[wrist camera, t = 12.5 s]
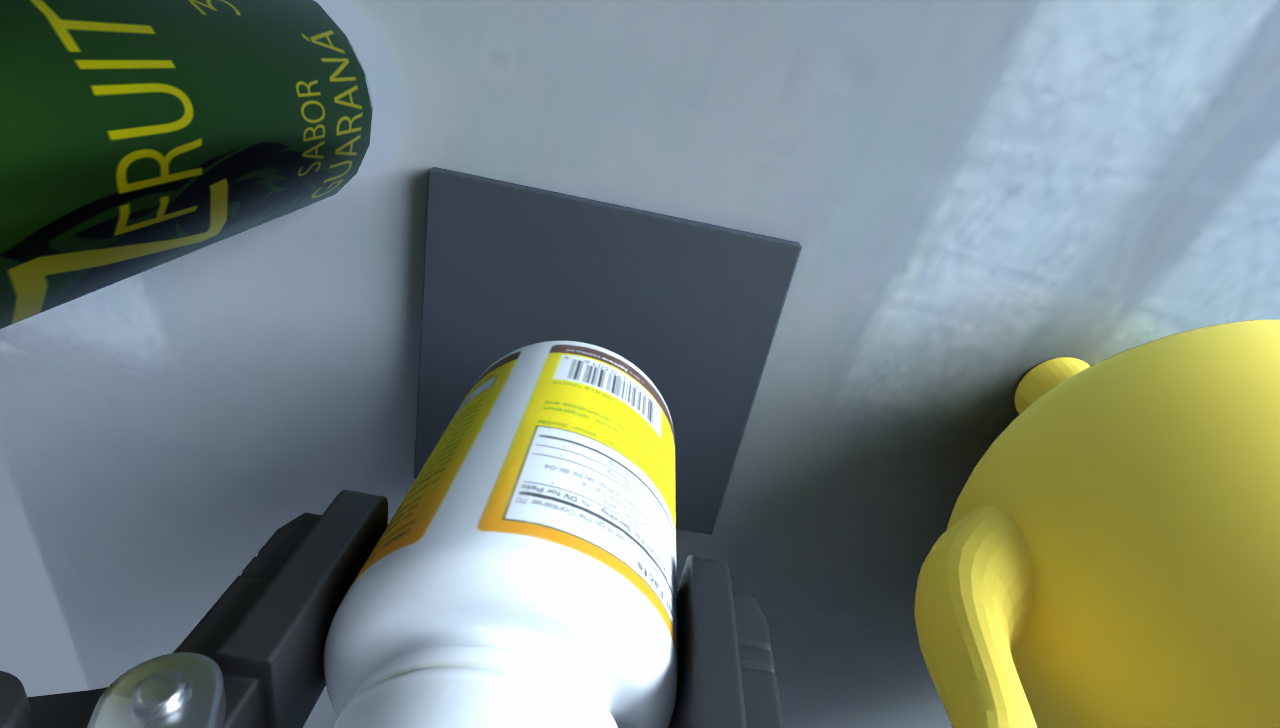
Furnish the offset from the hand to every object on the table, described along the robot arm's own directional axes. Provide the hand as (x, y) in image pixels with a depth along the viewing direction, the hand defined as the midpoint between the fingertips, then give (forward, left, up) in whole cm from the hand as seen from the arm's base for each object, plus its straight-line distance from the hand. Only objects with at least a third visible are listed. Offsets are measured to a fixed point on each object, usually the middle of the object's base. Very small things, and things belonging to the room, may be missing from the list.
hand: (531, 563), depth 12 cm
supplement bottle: (0, 0, -6) cm, 6 cm away
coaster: (0, 0, -8) cm, 8 cm away
